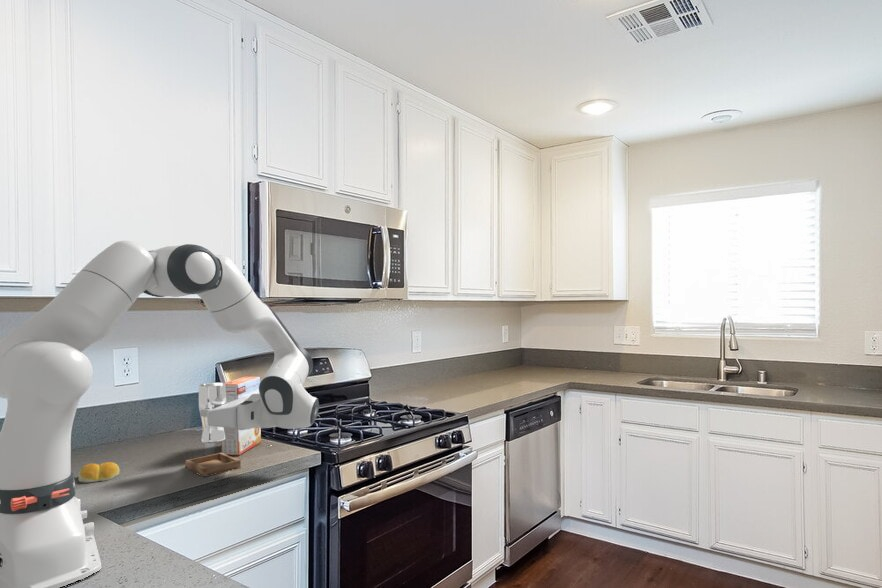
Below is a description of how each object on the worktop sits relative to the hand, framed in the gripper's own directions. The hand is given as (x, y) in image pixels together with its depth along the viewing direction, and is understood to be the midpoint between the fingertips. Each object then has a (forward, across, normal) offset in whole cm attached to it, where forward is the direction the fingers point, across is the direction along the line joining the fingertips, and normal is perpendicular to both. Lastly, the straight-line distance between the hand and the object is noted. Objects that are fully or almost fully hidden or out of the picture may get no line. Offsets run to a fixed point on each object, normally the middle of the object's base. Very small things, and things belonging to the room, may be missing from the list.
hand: (209, 409), depth 151 cm
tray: (-1, 0, +16) cm, 16 cm away
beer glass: (-1, 0, +8) cm, 9 cm away
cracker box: (0, -18, +16) cm, 24 cm away
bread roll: (+24, +11, +16) cm, 31 cm away
